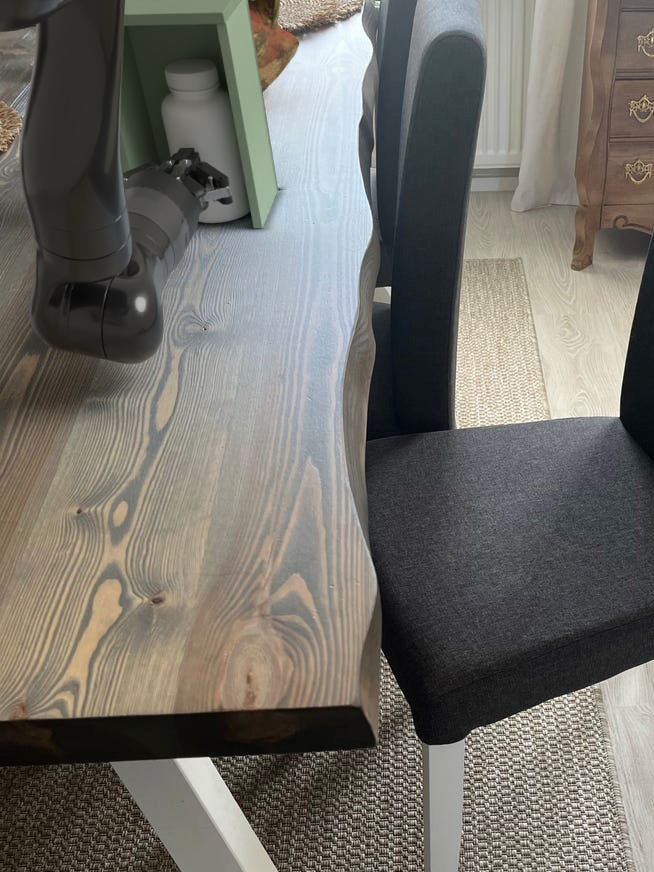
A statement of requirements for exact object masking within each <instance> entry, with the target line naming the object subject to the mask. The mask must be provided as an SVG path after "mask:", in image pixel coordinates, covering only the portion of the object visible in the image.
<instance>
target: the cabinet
mask: <svg viewBox="0 0 654 872" xmlns="http://www.w3.org/2000/svg"><path fill="white" fill-rule="evenodd" d="M184 59H207V60H210V61H212V62H214V63H215V65H216V68H217V73H218V80H219V81H220V86H219V88H221V89H224V90H225V91H227V92H228V93H229V96H230V102H231V107H232V112H233V118H234V123H235V129H236V134H237V140H238V145H239V151H240V156H241V161H242V167H243V172H244V178H245V183H246V189H247V194H248V200H249V205H250V215H251V221H252V227H253V229H263V228H264V226H265V223H266V221H267V219H268V216H269V213H270V211H271V208H272V206H273V204H274V201H275V198H276V196H277V195H278V191H279V184H278V179H277V178H278V177H277V172H276V166H275V159H274V154H273V147H272V143H271V142H272V141H271V135H270V130H269V123H268V117H267V109H266V104H265V98H264V97H265V96H264V92H263V91H262V85H261V79H260V73H259V66H258V60H257V54H256V48H255V42H254V35H253V29H252V23H251V17H250V11H249V5H248V0H125V13H124V37H123V61H122V81H121V110H120V135H121V158H122V169H123V173H124V172H126V171H129V170H131V169H134V168H136V167H139V166H141V165H144V164H147V163H149V162H154V163H156V164H157V165H161V164H162V163H163V162H164V161H166V160H169V159H171V154H170V150H169V145H168V141H167V136H166V132H165V127H164V123H163V118H162V113H161V107H162V102H163V100H164V98H165V97H166V96H167V95H168V94H170V93H171V92H172V91H170V90H169V85H168V84H167V81H166V76H165V72H164V70H165V67H166V66H167V65H168V64H170V63H172V62H175V61H179V60H184Z"/></svg>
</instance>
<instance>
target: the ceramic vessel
mask: <svg viewBox="0 0 654 872" xmlns="http://www.w3.org/2000/svg"><path fill="white" fill-rule="evenodd" d="M248 5H249V11H250V17H251V23H252V29H253V35H254V42H255V48H256V54H257V60H258V66H259V73H260V79H261V85H262V91H263V93H264V92H265V91H266V90H267V89H268V88H269V87H270V86H271V85H272V84H273V83H274V82H275V81H276V80H277V79H278V78H279V77H280V75H282V73H283V72H284V70H285V69H286V68H287V66H288V65H289V64H290V62H291V61H292V60H293V58H294V57H295V56H296V53H297V52H298V49H299V47H300V41H299V39H298V37H297V36H295V35H294V34H292V33H290V32H289V30H288V31H287V30H286V29H284V28H282V27H280V25H279V24H278V21H279V17H280V7H281V0H248Z"/></svg>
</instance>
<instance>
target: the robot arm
mask: <svg viewBox="0 0 654 872" xmlns="http://www.w3.org/2000/svg"><path fill="white" fill-rule="evenodd" d="M124 13H125V0H0V33H8V32H16V31H20V30H24V29H28V28H31V27H34V26H35V27H36V28H35V44H34V56H33V57H34V58H33V65H32V70H31V77H30V83H29V88H28V93H27V99H26V104H25V108H24V109H25V110H24V115H23V120H22V124H21V131H20V138H19V148H18V149H19V155H18V157H19V158H18V160H19V161H18V164H19V165H18V166H19V181H20V185H21V190H22V194H23V195H22V196H23V199H24V205H25V208H26V211H27V215H28V219H29V220H28V221H29V224H30V228H31V232H32V236H33V241H34V242H33V243H34V268H33V269H34V271H33V272H34V273H33V279H32V285H31V289H30V290H31V291H30V296H29V303H28V318H29V322H30V325H31V327H32V330H33V331H34V333H35V334H36V336H37V337H38V338H39V339H40V340H41V341H42V342H43V343H44V344H46V345H47V346H48V347H49V348H52V349H53V350H57V351H60V352H65V353H68V354H69V353H70V354H73V355H80V356H83V357H89V358H94V359H99V360H105V361H109V362H114V363H118V364H124V365H138V364H141V363H144V362H146V361H148V360H150V359H151V358H152V357H153V356H154V355H155V354H156V353H157V352H158V350H159V349H160V347H161V343H162V340H163V336H164V309H163V299H162V298H163V297H162V296H163V291H164V288H165V286H166V284H167V282H168V280H169V277H170V276H171V274H172V273H173V271H175V269H176V268H177V267H178V265H179V264H180V262H181V261H182V258H183V256H184V254H185V252H186V251H187V248H188V247H189V245H190V243H191V240H192V238H193V237H194V235H195V233H196V230H197V229H198V228H197V227H198V225H199V222H198V220H199V215H200V213H201V212H203V211H205V210H206V209H207V208H208V206H209V202H210V201H213V202H217V201H218V202H220V203H221V204H223V205H229V204H231V203H233V199H232V194H231V189H230V184H229V180H228V177H227V176H226V175H225V174H223V173H222V172H220V171H219V170H217V169H216V168H214V167H213V166H211V165H210V164H208V163H207V162H204V161H201V160H200V156H199V153H198V152H195V150H194V148H180V149H179V150H178V152H177V153H175V154H173V155H172V157H171V159H169V160H166V161H164V162H163V163H162V164H161V165H157V164H156V163H154V162H149V163H147V164H144V165H141V166H139V167H136V168H134V169H131V170H129V171H126V172H124V173H123V169H122V158H121V135H120V110H121V81H122V61H123V37H124Z"/></svg>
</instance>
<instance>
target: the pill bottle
mask: <svg viewBox="0 0 654 872" xmlns="http://www.w3.org/2000/svg"><path fill="white" fill-rule="evenodd" d="M164 72H165V76H166V81H167V84H168V85H169V90H170V91H172V92H171V93H170V94H168V95H167V96H166V97H165V98H164V100H163V102H162V107H161V113H162V118H163V123H164V127H165V132H166V136H167V141H168V145H169V150H170V154H171V157H172V155H173V154H175V153H177V152H178V150H179V149H180V148H194V150H195V152H198V153H199V156H200V160H201V161H204V162H207V163H208V164H210V165H211V166H213V167H214V168H216V169H217V170H219V171H220V172H222V173H223V174H225V175H226V176H227V177H228V180H229V184H230V189H231V194H232V199H233V203H231V204H229V205H223V204H221V203H220V202H218V201H217V202H213V201H210V202H209V206H208V208H207V209H206V210H205V211H203V212H201V213H200V215H199V220H198V223H205V224H216V223H220V224H221V223H226V222H231V221H234V220H237V219H241V218H242V217H244V216H246V215H248V214H249V213H251V211H250V205H249V200H248V194H247V189H246V183H245V178H244V172H243V167H242V161H241V156H240V151H239V145H238V140H237V134H236V129H235V123H234V118H233V112H232V107H231V102H230V96H229V93H228V92H227V91H225V90H224V89H221V88H219V86H220V81H219V80H218V73H217V68H216V65H215V63H214V62H212V61H210V60H207V59H184V60H179V61H175V62H172V63H170V64H168V65H167V66H166V67H165V70H164Z"/></svg>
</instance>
